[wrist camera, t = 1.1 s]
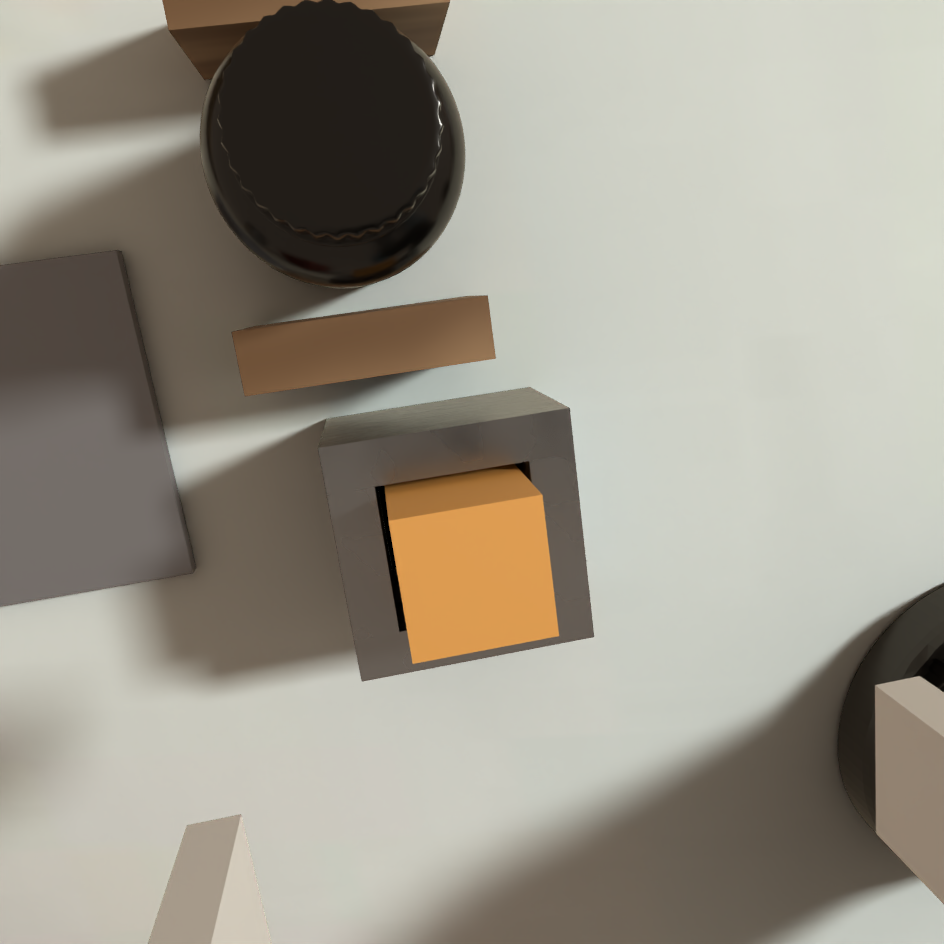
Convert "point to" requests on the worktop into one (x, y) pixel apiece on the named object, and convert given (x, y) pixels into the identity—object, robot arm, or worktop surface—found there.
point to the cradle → (357, 333)
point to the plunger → (471, 561)
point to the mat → (80, 436)
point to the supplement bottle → (332, 145)
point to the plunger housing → (435, 454)
